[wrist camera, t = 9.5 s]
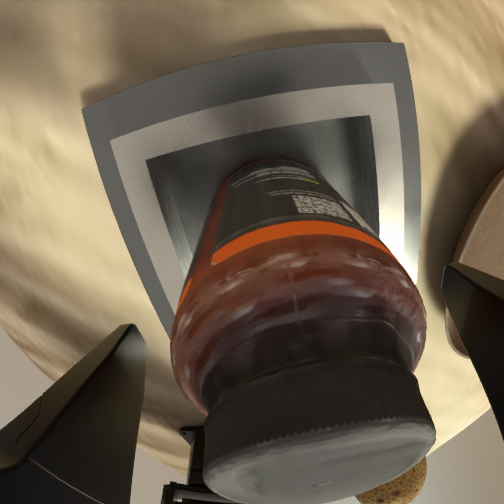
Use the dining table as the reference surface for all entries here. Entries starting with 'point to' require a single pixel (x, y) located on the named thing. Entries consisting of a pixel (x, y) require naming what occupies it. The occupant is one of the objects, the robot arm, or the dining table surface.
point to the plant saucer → (481, 245)
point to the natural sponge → (397, 487)
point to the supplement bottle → (299, 344)
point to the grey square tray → (258, 147)
